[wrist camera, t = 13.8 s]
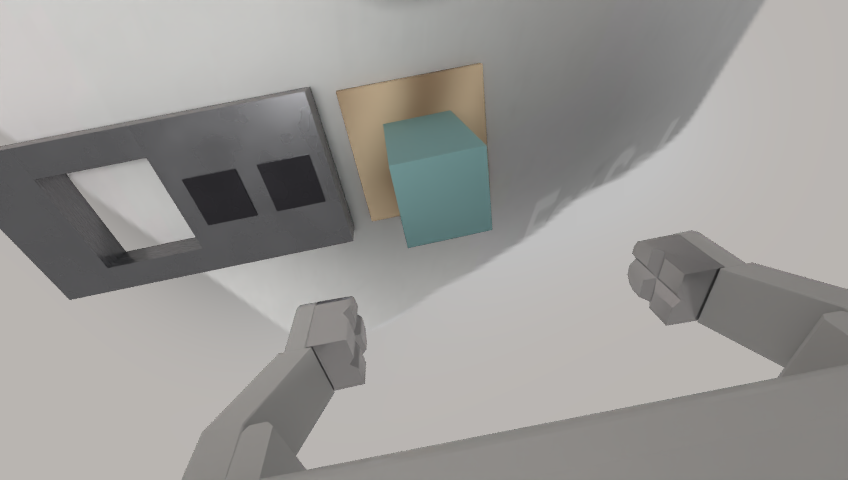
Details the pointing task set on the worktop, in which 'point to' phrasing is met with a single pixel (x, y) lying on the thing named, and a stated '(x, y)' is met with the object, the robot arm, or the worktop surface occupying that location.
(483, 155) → the upright teal block
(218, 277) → the worktop surface
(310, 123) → the grey slotted board
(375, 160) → the pad
